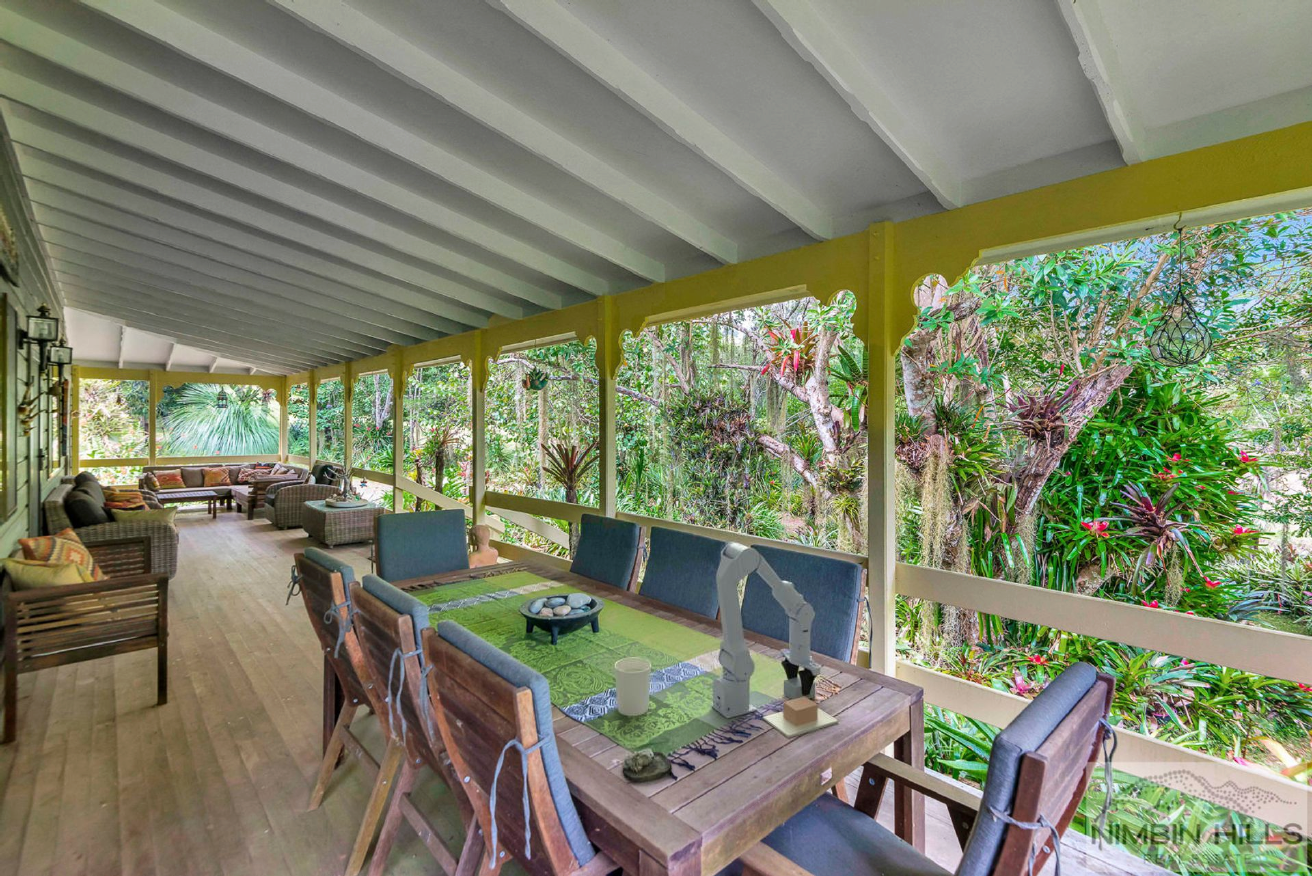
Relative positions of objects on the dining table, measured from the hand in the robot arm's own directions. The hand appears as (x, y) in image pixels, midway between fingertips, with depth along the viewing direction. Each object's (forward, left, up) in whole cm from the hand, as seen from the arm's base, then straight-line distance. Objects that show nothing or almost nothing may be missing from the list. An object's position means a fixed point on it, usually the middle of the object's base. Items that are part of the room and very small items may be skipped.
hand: (799, 690), depth 163 cm
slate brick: (0, 0, -1) cm, 1 cm away
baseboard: (-9, -11, -1) cm, 14 cm away
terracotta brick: (-9, -11, -1) cm, 14 cm away
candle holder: (-45, +14, -2) cm, 47 cm away
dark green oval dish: (-53, -12, -2) cm, 54 cm away
